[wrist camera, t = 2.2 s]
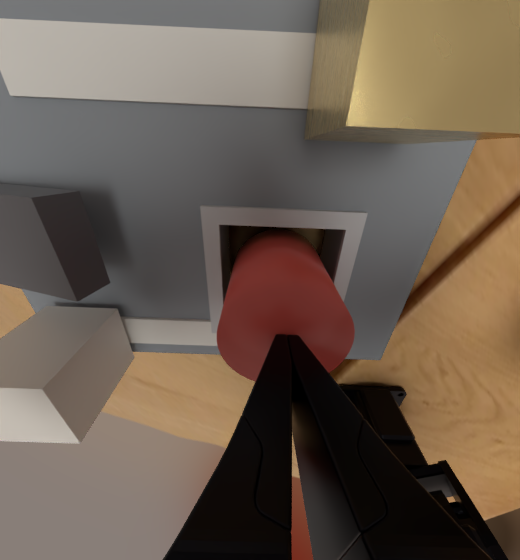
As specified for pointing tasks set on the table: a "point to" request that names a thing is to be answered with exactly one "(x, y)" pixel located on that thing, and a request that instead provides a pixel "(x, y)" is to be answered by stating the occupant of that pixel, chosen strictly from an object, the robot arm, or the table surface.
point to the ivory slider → (60, 372)
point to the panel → (207, 158)
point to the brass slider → (415, 71)
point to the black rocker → (48, 243)
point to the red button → (281, 304)
